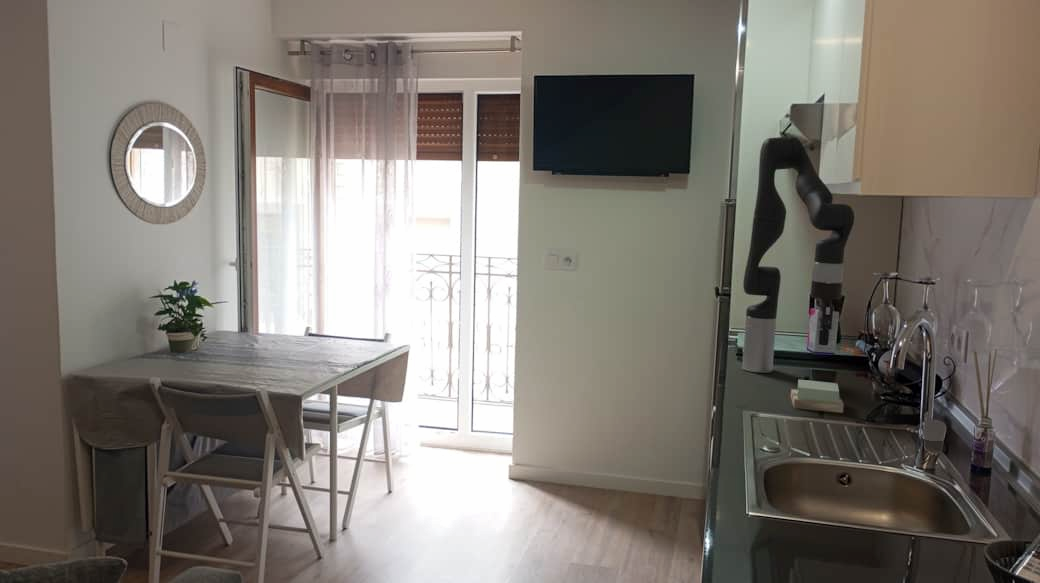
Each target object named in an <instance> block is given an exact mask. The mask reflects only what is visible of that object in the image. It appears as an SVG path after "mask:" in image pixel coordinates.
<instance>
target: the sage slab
mask: <svg viewBox="0 0 1040 583" xmlns="http://www.w3.org/2000/svg"><path fill="white" fill-rule="evenodd" d="M797 389H798V393H797V398H798V399H807V400H816V401H825V402H834V403H838V399H839V396H840V389H839V385H838V383H836V382H827V381H826V382H825V381H818V380H817V381H816V380H808V379H807V380H806V379H798V381H797Z"/></svg>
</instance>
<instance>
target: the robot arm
mask: <svg viewBox="0 0 1040 583" xmlns="http://www.w3.org/2000/svg"><path fill="white" fill-rule="evenodd" d="M758 164H759V165H758V166H759V169H758V181H757V182H758V183H757V192H756V194H757V195H756V200H755V205H754V206H755V207H754V212H753V218H752V220H753V221H752V226H751V237H750V245H749V251H748V257H747V261H746V266H745V270H744V274H743V275H744V276H743V284H742V285H743V287H742V288H743V291H744V293H745V294H746V295H750V296H760V297H761V296H764V297H765V296H766V298H765V299H764V300H763V301H761V302H759V303H756V304H753V305H749V306H748V307H747V308H746V311H745V312H746V314H745V326H744V342H743V352H742V353H743V354H742V367H741V368H742V370H744V371H747V372H751V373H760V374H762V373H765V374H766V373H772V372H773V364H774V353H775V343H776V342H775V341H776V340H775V339H776V326H777V314H778V313H777V312H778V304H779V293H780V287H781V280H782V278H781V271H780V269H779V268H778V267H776V266H762V265H761V266H759V265H760V262H761V261H762V259H763V257H764V256H765V255H766V253H767V252H768V251H769V250H770V249H771V247H773V246H774V245H775V243H777V241H778V240H779V239H780V238H781V237H782V235H783V233H784V231H785V230H784V229H785V223H786V218H787V209H786V205H785V203H784V201H783V199H782V198H781V196H780V194H779V192H778V190H777V188H776V184H775V175H776V171H778V170H790V169H793V170H795V172H797V173H798V174H797V177H796V182H795V190H796V192H797V195H798V197H799V198H800V200H801V201H802V202H803V203H804V206H806V209H807V212H808V217H809V220H810V223H811V225H812V226H813V227H814V228H815V229H817V230H819V231H825V232H826V231H827V232H828V231H829V232H831V234H830V236H829V237H828V238H824V239H821V240H818V241H817V243H815V250H814V262H813V267H812V273H811V286H810V297H812V298H814V299H819V300H817V301H816V305H815V309H817V310H819V311H822V318H821V317H819V319H818V320H819V322H820V327H819V329H820V335H819V344H820V345H828V340H829V331H830V330H831V329H832V327H831V326H832V319H833V311H835V310H834V309H835V308H834V307H835V306H834V305H833V304H832V301H833V300H840V299H841V298H842V292H843V291H842V290H843V280H844V278H843V277H844V258H845V257H844V255H845V247H846V246H847V242H848V239H849V237H850V234H851V231H852V229H853V226H854V222H855V213H854V210H853V208H852V207H851V206H850V205H848V204H846V203H833V201H834V200H833V199H834V198H833V194H832V192H831V191H830V189H829V188H828V187H827V186H826V184H825V183H824V182H823V180H822V179H821V178H820V177H819V175H818V173H817V171H816V169H815V167H814V165H813V163H812V161H811V158H810V156H809V154H808V153H807V150H806V148H805V146H804V145H803V143H802V141H801V140H800V139H799V138H798V137H795V136H781V137H769V138H766V139H765V140H764V141H763V142H762V144H761V147H760V152H759V163H758ZM824 322H826V323H828V325H823V324H824Z"/></svg>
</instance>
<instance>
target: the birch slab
mask: <svg viewBox="0 0 1040 583" xmlns="http://www.w3.org/2000/svg"><path fill="white" fill-rule="evenodd" d="M797 393H798V388H797V389H796V388H791V389H790V399H791V403H792V406H793V409H799V410H809V411H810V410H811V411H817V412H818V411H819V412H820V411H821V412H830V413H838V414H839V413H840V414H843V413H844V402H843V400H842V398H841V397H840V395H839V399H838V403H834V402H825V401H816V400H807V399H798V398H797Z"/></svg>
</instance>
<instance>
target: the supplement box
mask: <svg viewBox="0 0 1040 583" xmlns="http://www.w3.org/2000/svg"><path fill="white" fill-rule="evenodd" d="M819 317H821V318H822V311H819V310H817V309H816V307H815V308H813V307H811V308H810V313H809V323H808V332H807V342H806V351H808V352H809V353H811V354H813V355H831V356H834V355H835V354H836V348H837V339H838V330H839V320H840V318H839V317H840V312H839V311H836V310H834V311H833V319H832V326H831V327H832V329H831V330H830V331H829V340H828V345H820V344H819V335H820V329H819V327H820V322H819V320H818V319H819ZM823 325H828V323H826V322H824V324H823Z"/></svg>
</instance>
